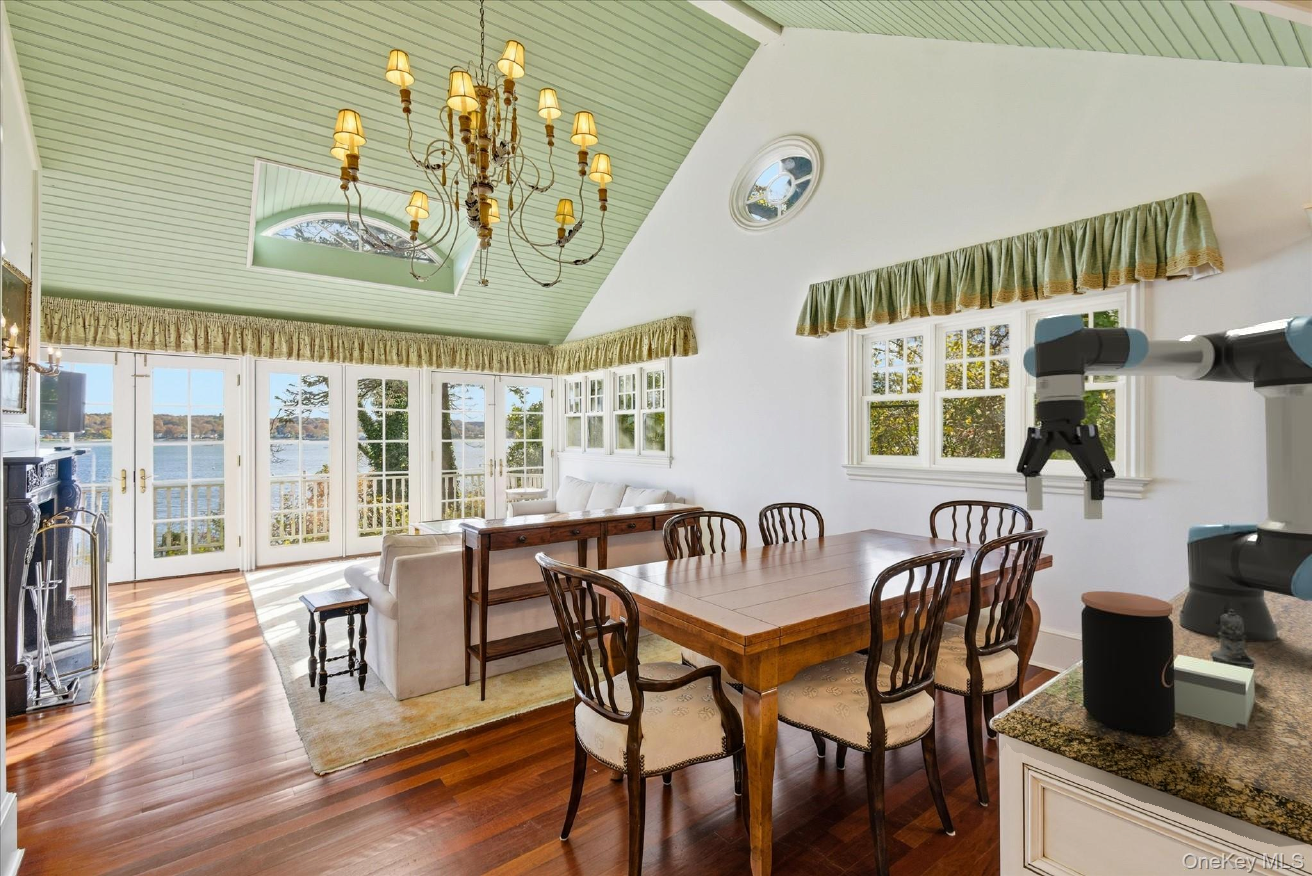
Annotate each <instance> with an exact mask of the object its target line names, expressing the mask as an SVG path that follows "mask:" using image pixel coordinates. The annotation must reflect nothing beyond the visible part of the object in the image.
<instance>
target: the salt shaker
mask: <svg viewBox="0 0 1312 876" xmlns="http://www.w3.org/2000/svg"><path fill="white" fill-rule="evenodd" d="M1229 611H1230V613H1228V614H1223V615H1222V616H1221V632H1218V634H1219V635H1220V637H1219V638H1220V644H1219V649H1218V650H1213V651H1210V652H1209V656H1210V657H1211V661H1213V662H1218V663H1223V664H1228V665H1233V666H1238V667H1243V668H1248V669H1253V670H1254V668H1255V665H1256V664H1257V663H1258V661H1257V659H1255V658H1254V657H1252V656H1250V655H1248V654H1247V651H1246V645H1245V644H1246V641H1245V639H1247V637H1246V636H1245V635H1244V621H1243V619H1242V618H1241V617H1240V616H1238V615H1236V614H1234V612H1235V611H1234V610H1233V609H1230V610H1229ZM1255 682H1256V681H1255V679H1254V684H1255Z"/></svg>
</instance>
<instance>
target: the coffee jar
mask: <svg viewBox="0 0 1312 876" xmlns="http://www.w3.org/2000/svg"><path fill="white" fill-rule="evenodd" d="M1080 598H1081V602H1082V603H1083V605H1084V607H1083V608H1082V610H1081V653H1082V654H1081V655H1082V657H1081V658H1082V660H1081V661H1082V663H1081V665H1082V701H1083V702H1082V705H1083V707H1084V709H1085V711H1086V712H1087V714H1088V715H1089V716H1090V717H1091V719H1093V720H1094V721H1095V722H1097V723H1098V724H1099V725H1102V726H1104V727H1107V728H1108V729H1112V730H1114V731H1117V732H1119V733H1120V732H1121V733H1124V734H1129V735H1133V736H1138V735H1140V737H1146V738H1147V737H1148V738H1159V737H1165V736H1167V735H1168V734H1170V732H1171V731H1172V730H1174V729H1175V727H1176V713H1175V688H1174V660H1175V659H1174V658H1175V657H1174V656H1175V654H1174V653H1175V651H1174V649H1175V647H1174V623H1173V621H1172V620H1171V618H1170V616H1171V615H1172V614H1173V610H1174V609H1173V604H1171V603H1169V602H1167V601H1165V600H1163V599H1159V598H1157V597H1156V598H1155V597H1152V596H1148V595H1142V594H1137V593H1132V592H1131V593H1129V592H1124V591H1123V592H1122V591H1109V590H1107V591H1106V590H1104V591H1103V590H1101V591H1100V590H1096V591H1095V590H1094V591H1085V592H1084V593H1081V597H1080Z"/></svg>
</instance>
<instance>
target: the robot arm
mask: <svg viewBox="0 0 1312 876" xmlns="http://www.w3.org/2000/svg"><path fill="white" fill-rule="evenodd" d="M1033 337H1034V338H1033V345H1032V346H1030V347H1029V348H1027V349H1026V351H1025V352H1024V355H1023V361H1022V362H1023V367H1024V369H1025V372H1026V373H1028V375H1030V376H1031V377H1033V378H1035V398H1036V399H1037V400H1039V401H1038V402H1036V403H1035V415H1036V416H1035V417H1036V418H1035V419H1036V421H1038V422H1039V423H1040V424H1041V425H1040V426H1029V427H1027V433H1026V440H1025V442H1024V446H1023V448H1022V451H1021V454H1020V457H1019V460H1018V464H1017V466H1016V473H1017V474H1022V475H1023V477H1024V478H1025V480H1024V482H1025V483H1024V486H1025V489H1024V490H1025V493H1026V510H1027V511H1043V510H1044V508H1043V507H1044V505H1043V502H1044V501H1043V498H1044V497H1043V476H1042V474H1041V472H1042V470H1043V468H1044V467H1045V466H1046V464H1047V463H1048V461H1049V459H1050V458H1051V456H1052V454H1053V453H1054V452H1057V451H1065V452H1066V453H1069V454H1070V456H1071V457H1072V459H1073V460H1074V462H1075V463H1076V464H1077V466H1078V467H1079V469H1080V471H1081V472H1082V473H1083V474H1084V476H1085V477H1086V478H1085V479H1084V481H1083V510H1084V511H1083V513H1084V515H1083V517H1084V520H1102V519H1103V501H1104V500H1105V482H1106V481H1107V480H1110V479H1114V478H1115V477H1116V476H1117V475H1116V471H1115V469H1114V467H1113V464H1112V463H1111V460H1110V459H1109V456H1108V454H1107V452H1106V450H1105V447H1104V445H1103V443H1102V441H1101V438H1100V434H1099V427H1098V424H1082V421H1084V420H1085V419H1086V402H1085V401H1084V400H1083V399H1082V398H1085V396H1086V382H1085V381H1086V380H1085V377H1086V376H1088V377H1089V376H1090V377H1091V376H1098V377H1099V376H1100V377H1101V376H1103V377H1104V376H1111V377H1112V376H1114V377H1115V376H1122V377H1123V376H1125V377H1126V376H1127V377H1129V376H1130V377H1131V376H1132V377H1133V376H1143V377H1145V376H1148V377H1149V376H1155V377H1157V376H1163V377H1164V376H1165V377H1166V376H1170V377H1171V376H1173V377H1176V378H1178V379H1180V380H1184V381H1202V382H1204V381H1205V382H1219V383H1235V384H1236V383H1237V384H1238V383H1239V384H1240V383H1241V384H1244V383H1253V390H1254V392H1257V393H1258V394H1260V395H1261V396H1262V397H1263V398H1264V405H1265V406H1264V411H1265V412H1264V417H1265V418H1264V419H1265V457H1266V458H1265V459H1266V460H1265V461H1266V499H1267V501H1266V502H1267V503H1266V505H1267V506H1266V507H1267V517H1266V519H1264V520H1263V521H1262V522H1260V523H1208V524H1207V523H1205V524H1204V523H1203V524H1201V523H1200V524H1195V525H1192V526H1191V527H1190V528H1189V529H1188V533H1187V534H1188V536H1187V542H1186V545H1187V563H1188V566H1187V567H1188V568H1187V569H1188V592H1187V595H1186V597H1185V599H1184V602H1183V604H1182V608H1181V610H1179V615H1178V617H1179V618H1178V619H1179V621H1178V623H1179V625H1181V626H1182V627H1183V628H1186V629H1188V630H1190V631H1194V632H1196V633H1200V634H1204V635H1209V636H1213V637H1218V638H1220V635H1219V634H1218V632H1221V616H1222V615H1223V614H1228V613H1230V611H1229V610H1230V609H1233V610H1234V611H1235V612H1234V614H1236V615H1238V616H1240V617H1241V618H1242V619H1243V621H1244V635H1245V636H1246V637H1247V639H1245V642H1246V641H1247V642H1272V641H1275V640H1277V639H1278V627H1277V624H1275V622H1274V620H1273V617H1272V615H1271V612H1270V610H1269V607H1268V605H1267V602H1266V600H1265V592H1269V593H1274V594H1279V595H1282V596H1283V595H1284V596H1287V597H1292V598H1296V599H1299V600H1301V601H1304V602H1308V601H1309V602H1310V601H1311V602H1312V315H1300V316H1294V317H1290V318H1285V319H1279V320H1274V321H1269V322H1265V323H1260V324H1253V325H1249V326H1242V327H1237V328H1232V329H1229V330H1224V331H1220V332H1215V333H1209V334H1201V335H1200V334H1199V335H1197V334H1196V335H1195V334H1194V335H1193V334H1192V335H1187V336H1185V337H1184V336H1183V338H1181V339H1148V336H1147V335H1146V333H1145V332H1144V331H1142V330H1141V329H1138V328H1132V327H1131V328H1129V327H1125V326H1119V327H1088V326H1087V327H1086V325H1085V323H1084V318H1083V316H1082V315H1079V314H1074V313H1073V314H1071V313H1070V314H1067V313H1066V314H1059V315H1051V316H1047V317H1043V318H1041V319H1040V320H1038V321H1037V322H1036V323H1035V327H1034V336H1033Z"/></svg>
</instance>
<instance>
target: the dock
mask: <svg viewBox="0 0 1312 876" xmlns="http://www.w3.org/2000/svg"><path fill="white" fill-rule="evenodd" d="M1254 680H1255V669H1254V668H1253V669H1248V668H1243V667H1238V666H1233V665H1228V664H1223V663H1218V662H1213V660H1207V659H1203V658H1197V657H1191V656H1187V655H1184V654H1183V655H1182V654H1177V656H1176V657H1175V659H1174V688H1175V714H1180V715H1184V716H1187V717H1192V718H1194V719H1195V718H1196V719H1199V720H1204V721H1206V722H1211V723H1215V724H1219V725H1223V726H1225V727H1230V728H1235V729H1239V730H1242V731H1245V732H1246V731H1247V730H1248V726H1249V723H1250V719H1251V715H1252V713H1253V708H1254V705H1255V702H1256V695H1255V693H1256V692H1255V691H1256V690H1255V683H1254Z"/></svg>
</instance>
